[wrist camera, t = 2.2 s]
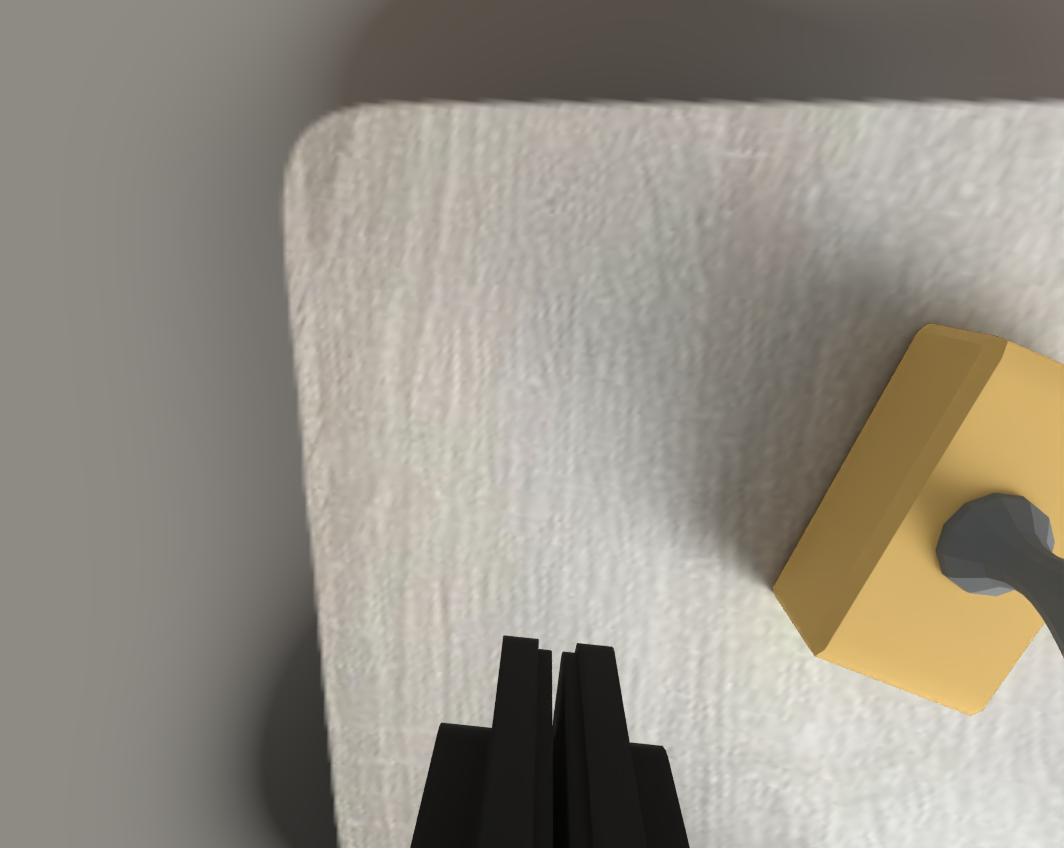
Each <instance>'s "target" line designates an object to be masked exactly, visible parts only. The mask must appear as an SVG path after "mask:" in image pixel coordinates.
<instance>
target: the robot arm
mask: <svg viewBox="0 0 1064 848" xmlns="http://www.w3.org/2000/svg"><path fill="white" fill-rule="evenodd" d="M538 646H539V640H538V639H533V638H524V637H514V636H503V643H502V652H501V660H500V668H499V676H498V684H497V692H496V701H495V709H494V717H493V725H492V728H487V727H478V726H468V725H459V724H449V723H441V724H440V726H439V730H438V733H437V737H436V742H435V746H434V750H433V754H432V758H431V763H430V767H429V771H428V775H427V779H426V784H425V788H424V792H423V796H422V801H421V805H420V809H419V813H418V817H417V822H416V826H415V830H414V834H413V839H412V843H411V847H410V848H690V847H689V843H688V839H687V834H686V830H685V826H684V822H683V818H682V814H681V809H680V805H679V801H678V797H677V793H676V788H675V784H674V780H673V776H672V772H671V768H670V763H669V759H668V756H667V753H666V750H665V749H664V747H663V746H658V745H649V744H639V743H630V742H629V736H628V730H627V724H626V718H625V712H624V706H623V700H622V694H621V688H620V682H619V676H618V670H617V664H616V658H615V652H614V648H613V647H609V646H600V645H590V644H581V643H577V645H576V649H575V653H571V652H562V656H561V663H560V671H559V679H558V687H557V694H556V702H555V710H554V718H553V726H552V651H551V650H543V649H538Z"/></svg>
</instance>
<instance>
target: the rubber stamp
mask: <svg viewBox="0 0 1064 848" xmlns="http://www.w3.org/2000/svg"><path fill="white" fill-rule="evenodd" d="M773 591H774V595H775V596H776V598H777V600H778V601H779V603H780V604H781V606H782V607H783V609H784V610H785V612H786V613H787V615H788V616H789V618H790V620H791V621H792V623H793V624H794V626H795V627H796V629H797V630H798V632H799V633H800V635H801V636H802V638H803V640H804V641H805V643H806V644H807V646H808V647H809V649H810V650H811V651H812V653H813V654H814V656H815V657H818V658H821V659H823V660H826V661H829V662H831V663H834V664H836V665H839V666H842V667H844V668H847V669H849V670H852V671H855V672H857V673H860V674H863V675H865V676H868V677H870V678H873V679H876V680H878V681H881V682H884V683H886V684H889V685H891V686H894V687H897V688H899V689H902V690H904V691H907V692H910V693H912V694H915V695H918V696H920V697H923V698H925V699H928V700H931V701H933V702H936V703H939V704H941V705H944V706H946V707H949V708H952V709H954V710H957V711H959V712H962V713H965V714H967V715H970V716H971V715H973V714H975V713H978V712H980V711H983V709H984V708H985V707H986V705H987V704H988V702H989V701H990V699H991V698H992V697H993V695H994V694H995V692H996V691H997V690H998V688H999V687H1000V685H1001V684H1002V682H1003V681H1004V680H1005V678H1006V677H1007V675H1008V674H1009V672H1010V671H1011V670H1012V668H1013V667H1014V665H1015V664H1016V663H1017V661H1018V660H1019V658H1020V657H1021V655H1022V654H1023V653H1024V651H1025V650H1026V648H1027V647H1028V646H1029V644H1030V643H1031V641H1032V640H1033V638H1034V637H1035V636H1036V634H1037V633H1038V631H1039V630H1040V628H1041V627H1042V626H1043V624H1044V623H1046V625H1047V627H1048V628H1049V630H1050V632H1051V634H1052V636H1053V638H1054V639H1055V641H1056V643H1057V645H1058V647H1059V649H1060V651H1061V653H1062V655H1063V657H1064V364H1062V363H1059V362H1057V361H1055V360H1052V359H1050V358H1048V357H1045V356H1043V355H1041V354H1038V353H1036V352H1034V351H1032V350H1029V349H1027V348H1025V347H1022V346H1020V345H1018V344H1015V343H1013V342H1011V341H1008V340H1006V339H1003V338H1000V337H998V336H994V335H989V334H983V333H978V332H973V331H968V330H963V329H957V328H952V327H947V326H942V325H937V324H932V323H929V324H927V325H926V326H925V327H923V328H922V329H920V330H919V331H918V332H917V334H916V335H915V337H914V339H913V341H912V342H911V344H910V346H909V348H908V349H907V351H906V353H905V355H904V357H903V358H902V360H901V362H900V364H899V365H898V367H897V369H896V371H895V372H894V374H893V376H892V378H891V380H890V381H889V383H888V385H887V387H886V388H885V390H884V392H883V394H882V395H881V397H880V399H879V401H878V403H877V404H876V406H875V408H874V410H873V411H872V413H871V415H870V417H869V418H868V420H867V422H866V424H865V426H864V427H863V429H862V431H861V433H860V434H859V436H858V438H857V440H856V441H855V443H854V445H853V447H852V449H851V450H850V452H849V454H848V456H847V457H846V459H845V461H844V463H843V464H842V466H841V468H840V470H839V472H838V473H837V475H836V477H835V479H834V480H833V482H832V484H831V486H830V488H829V489H828V491H827V493H826V495H825V496H824V498H823V500H822V502H821V503H820V505H819V507H818V509H817V511H816V512H815V514H814V516H813V518H812V519H811V521H810V523H809V525H808V526H807V528H806V530H805V532H804V534H803V535H802V537H801V539H800V541H799V542H798V544H797V546H796V548H795V549H794V551H793V553H792V555H791V557H790V558H789V560H788V562H787V564H786V565H785V567H784V569H783V571H782V572H781V574H780V576H779V578H778V580H777V581H776V583H775V585H774V587H773Z"/></svg>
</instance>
